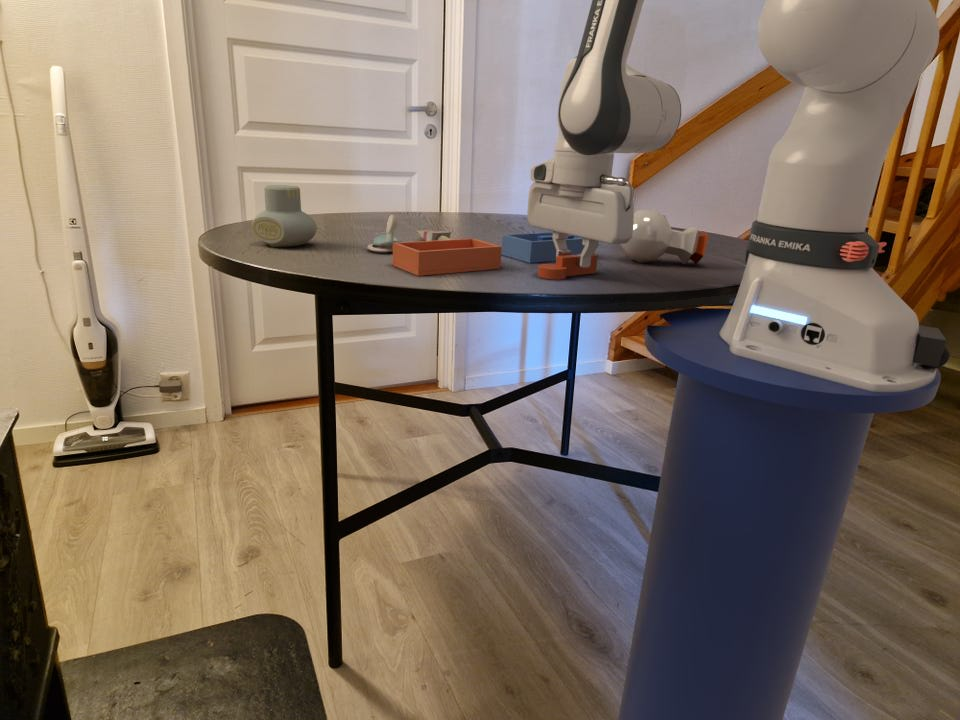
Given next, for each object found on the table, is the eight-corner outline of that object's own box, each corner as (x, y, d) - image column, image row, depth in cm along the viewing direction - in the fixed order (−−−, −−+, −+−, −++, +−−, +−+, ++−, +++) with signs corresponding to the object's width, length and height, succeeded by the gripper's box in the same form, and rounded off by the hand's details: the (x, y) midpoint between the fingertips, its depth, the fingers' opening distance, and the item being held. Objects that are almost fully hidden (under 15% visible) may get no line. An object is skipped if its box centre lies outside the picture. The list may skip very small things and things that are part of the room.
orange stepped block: (583, 269, 102) (585, 251, 101) (602, 275, 99) (604, 256, 98) (531, 274, 96) (533, 255, 95) (550, 280, 93) (552, 261, 92)
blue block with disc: (561, 249, 117) (563, 233, 116) (577, 253, 114) (579, 236, 113) (516, 252, 111) (517, 235, 110) (531, 256, 108) (533, 239, 107)
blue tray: (593, 257, 114) (595, 237, 112) (529, 263, 105) (531, 241, 104) (563, 249, 120) (565, 231, 119) (501, 254, 111) (502, 234, 110)
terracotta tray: (500, 268, 99) (501, 246, 98) (418, 276, 91) (418, 251, 90) (471, 259, 106) (472, 238, 104) (392, 265, 97) (392, 242, 96)
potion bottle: (609, 265, 114) (689, 280, 114) (621, 241, 105) (708, 258, 104) (615, 221, 117) (694, 236, 116) (628, 194, 107) (714, 210, 107)
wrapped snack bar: (431, 222, 123) (475, 244, 107) (431, 236, 124) (474, 259, 108) (413, 222, 122) (455, 244, 105) (413, 236, 123) (454, 260, 106)
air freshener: (325, 245, 111) (323, 187, 107) (293, 251, 104) (290, 190, 100) (277, 238, 115) (274, 182, 112) (244, 243, 108) (240, 184, 104)
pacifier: (372, 255, 105) (406, 254, 107) (371, 218, 102) (406, 217, 105) (363, 248, 111) (395, 246, 113) (361, 212, 109) (395, 211, 111)
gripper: (649, 178, 86) (636, 275, 91) (553, 168, 102) (546, 251, 107) (618, 178, 83) (606, 279, 88) (523, 167, 99) (517, 253, 103)
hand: (572, 263), depth 97 cm, fingers open, 3 cm apart
